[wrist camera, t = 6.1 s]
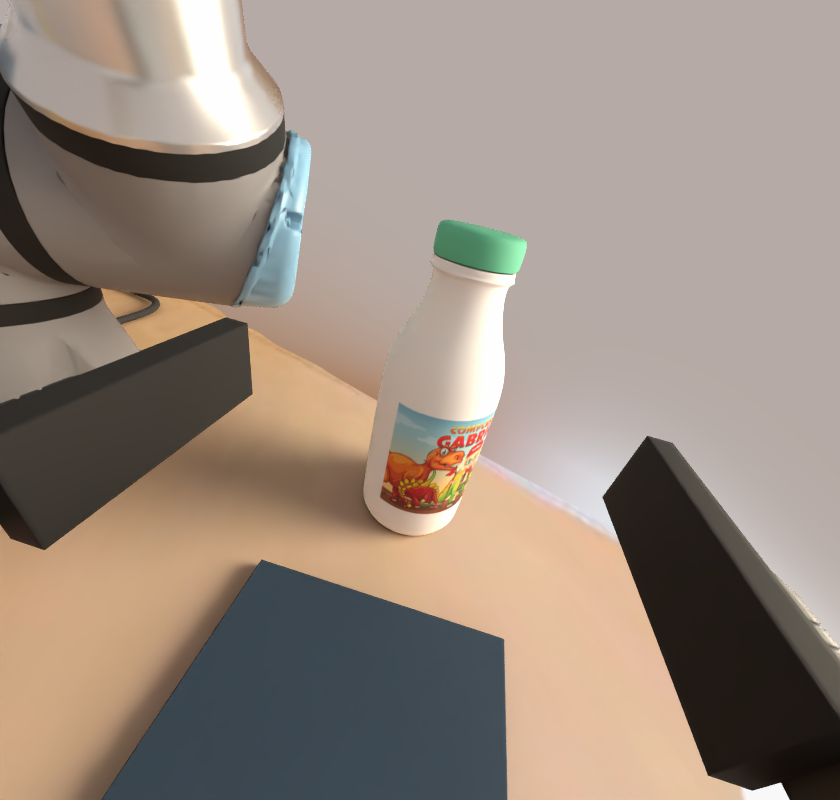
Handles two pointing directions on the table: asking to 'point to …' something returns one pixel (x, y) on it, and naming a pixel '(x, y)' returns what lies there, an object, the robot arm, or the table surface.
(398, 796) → the placemat
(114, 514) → the table surface
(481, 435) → the milk bottle
